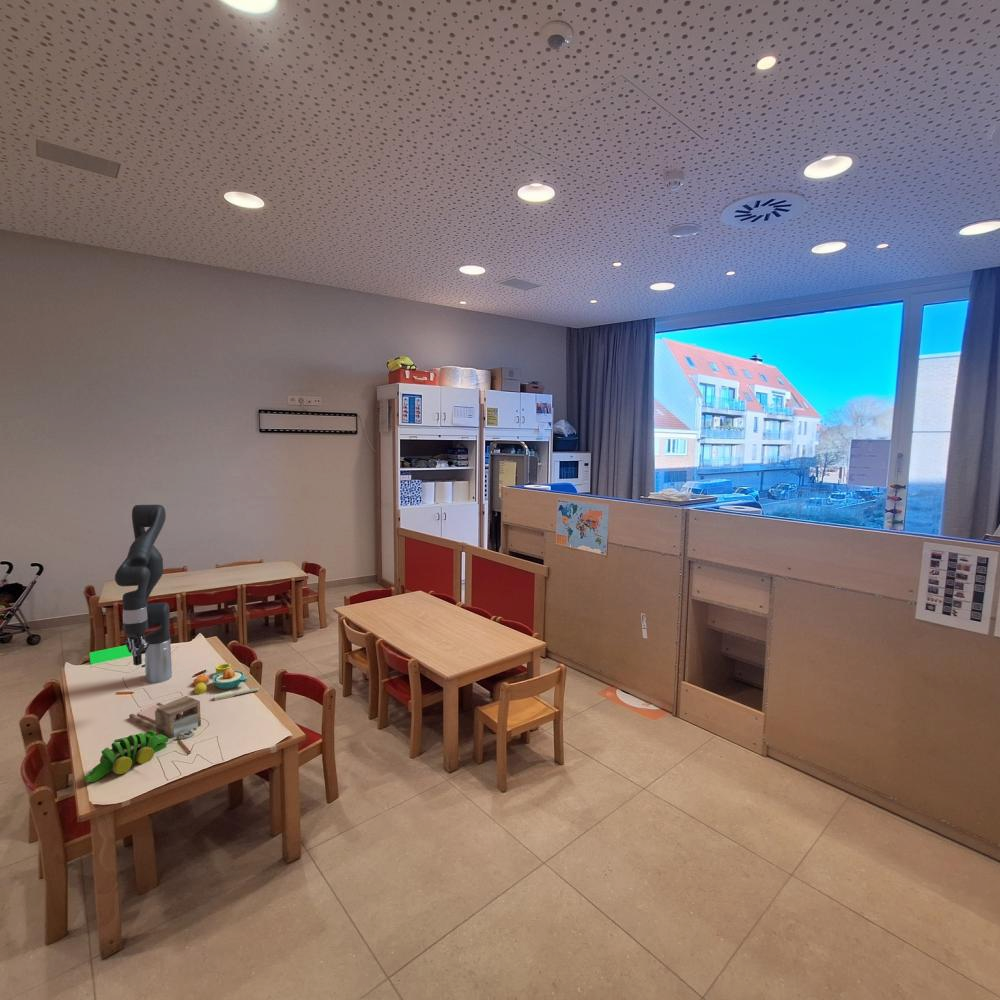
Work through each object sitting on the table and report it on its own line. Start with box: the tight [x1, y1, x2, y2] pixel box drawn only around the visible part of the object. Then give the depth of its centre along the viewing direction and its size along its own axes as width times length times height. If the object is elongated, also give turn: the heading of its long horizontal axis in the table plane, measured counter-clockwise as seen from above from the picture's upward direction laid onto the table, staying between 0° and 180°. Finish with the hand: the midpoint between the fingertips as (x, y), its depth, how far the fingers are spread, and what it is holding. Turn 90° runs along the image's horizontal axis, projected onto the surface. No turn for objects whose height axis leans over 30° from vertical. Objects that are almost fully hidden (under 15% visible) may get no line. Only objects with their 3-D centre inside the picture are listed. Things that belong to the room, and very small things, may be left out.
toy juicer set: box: [193, 663, 260, 702], centre depth 216 cm, size 29×18×8 cm, turn 52°
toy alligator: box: [83, 729, 195, 783], centre depth 170 cm, size 10×32×9 cm, turn 150°
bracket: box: [88, 644, 133, 665], centre depth 243 cm, size 20×10×7 cm, turn 132°
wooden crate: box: [128, 695, 202, 739], centre depth 190 cm, size 26×10×9 cm, turn 62°
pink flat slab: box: [136, 704, 178, 724], centre depth 192 cm, size 12×7×3 cm, turn 64°
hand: (137, 664), depth 196 cm, fingers closed
